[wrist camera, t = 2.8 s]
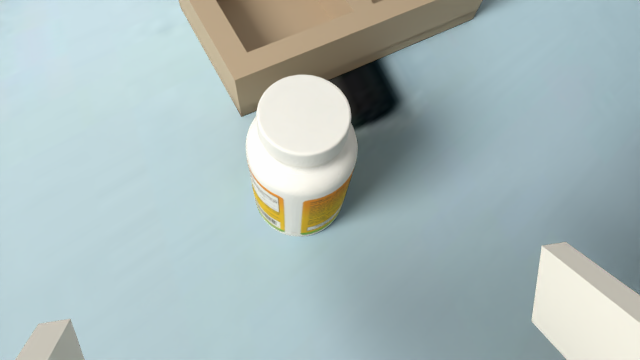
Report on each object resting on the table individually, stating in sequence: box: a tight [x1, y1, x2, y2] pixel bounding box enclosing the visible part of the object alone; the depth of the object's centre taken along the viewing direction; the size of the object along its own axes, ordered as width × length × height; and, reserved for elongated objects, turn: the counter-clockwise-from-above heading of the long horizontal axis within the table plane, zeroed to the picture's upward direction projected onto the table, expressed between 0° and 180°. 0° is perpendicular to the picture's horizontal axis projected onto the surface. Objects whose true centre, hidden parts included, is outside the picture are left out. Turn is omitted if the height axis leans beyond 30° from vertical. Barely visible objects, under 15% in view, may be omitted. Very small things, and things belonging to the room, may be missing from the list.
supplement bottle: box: [246, 75, 358, 236], centre depth 23 cm, size 5×5×10 cm
